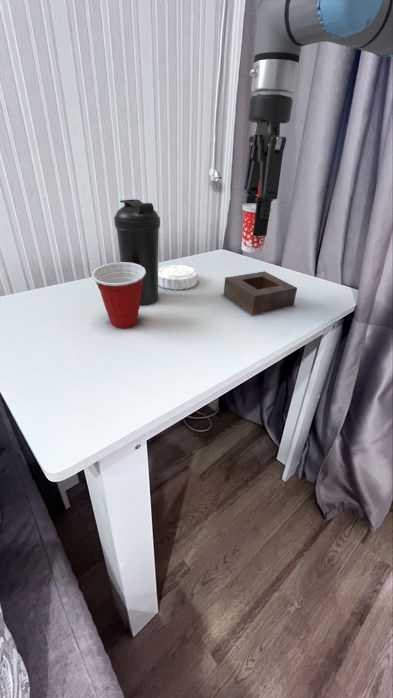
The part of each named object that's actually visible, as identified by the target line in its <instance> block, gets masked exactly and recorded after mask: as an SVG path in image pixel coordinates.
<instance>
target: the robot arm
mask: <svg viewBox="0 0 393 698" xmlns="http://www.w3.org/2000/svg"><path fill="white" fill-rule="evenodd" d="M257 5H258V6H257V10H258V12H257V13H258V14H257V23H256V24H257V25H256V33H255V34H256V35H255V46H254V58H253V68H251V69H250V71H249V76H250V77H252V79H251V89H250V91H251V92H252V94H253V95H252V96H251V97H250V98H249V105H248V114H247V120H248V121H249V122H250V123H255V124H256V129H255V132H254V135H250V136H249V138H248V154H247V161H246V162H247V163H246V170H245V176H244V177H245V179H244V186H243V190H244V191H245V194H246V199H245V204H247V203H257V204H256V211H255V219H254V227H253V236H265V237H267V233H268V228H269V220H270V216H269V214H270V215H271V212H270V208H271V206H272V202H273V201H274V200H277V199H278V195H279V187H280V180H281V179H280V178H281V172H282V164H283V157H284V151H285V146H286V142H287V136H281V125H282V124H284V125H285V124H288V123H289V122H290V120H291V117H292V116H291V115H292V109H293V102H294V100H293V97H291V96H292V95H293V94H294V93H295V92H296V86H297V79H298V74H299V73H298V72H299V66H300V58H301V57H300V56H301V51H302V47H304V46H308V45H312V44H317V43H325V42H327V43H332V44H334V45H335V44H336V45H339V46H343V47H347V48H351V49H356V50H360V51H363V52H366V53H370V54H373V55H375V56H376V57H380V58H387V57H390V58H391V57H392V58H393V0H259V1H258V4H257ZM259 180H260V188H259ZM258 188H259V197H257V196H258Z"/></svg>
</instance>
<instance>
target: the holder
mask: <svg viewBox="0 0 393 698" xmlns="http://www.w3.org/2000/svg"><path fill="white" fill-rule="evenodd" d="M297 292H298V287H296V286H295V285H293V284H290V283H288V282H287V281H285V280H282V279H281V278H278V277H277V276H275V275H273V274H271V273H269V272H267V271H257V272H251V273H244V274H239V275H233V276H227V277H224V285H223V297H224V298H227V299H228V300H230V301H231V302H232V303H233V304H235V305H237V306H238V307H239V308H241V309H242V310H244V311H245V312H246V313H248V314H250V315H251V316H256V315H261V314H265V313H268V312H269V313H270V312H274V311H278V310H282V309H287V308H292V307H294V306H295V302H296V301H295V300H296V295H297Z"/></svg>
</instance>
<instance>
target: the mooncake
mask: <svg viewBox="0 0 393 698" xmlns="http://www.w3.org/2000/svg"><path fill="white" fill-rule="evenodd" d="M198 274H199V273H198V271H197V270H196V269H195V268H193V267H190V266H187V265H185V264H170V265H167V264H166V265H163V266H161V267H158V287H161V288H163V289H167V290H175V291H176V290H179V291H182V290H188V289H190V288H194V287H195V286H197V284H198V276H199V275H198Z"/></svg>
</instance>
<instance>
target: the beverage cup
mask: <svg viewBox="0 0 393 698" xmlns="http://www.w3.org/2000/svg"><path fill="white" fill-rule="evenodd" d="M259 188H260V180H259ZM259 188H258V195H256V196H257V197H259ZM256 204H257V203H247V204H246V203H243V204H242V205H241V206H242V208H241V209H242V228H241V246H240V247H241V251H242V252H246V253H250V254H258V253H262V252H263V250H264V245H265V239H266V236H253V227H254V219H255V211H256ZM272 211H273V206H272V205H271V208H270V214H269V217H270V216H271V212H272Z"/></svg>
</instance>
